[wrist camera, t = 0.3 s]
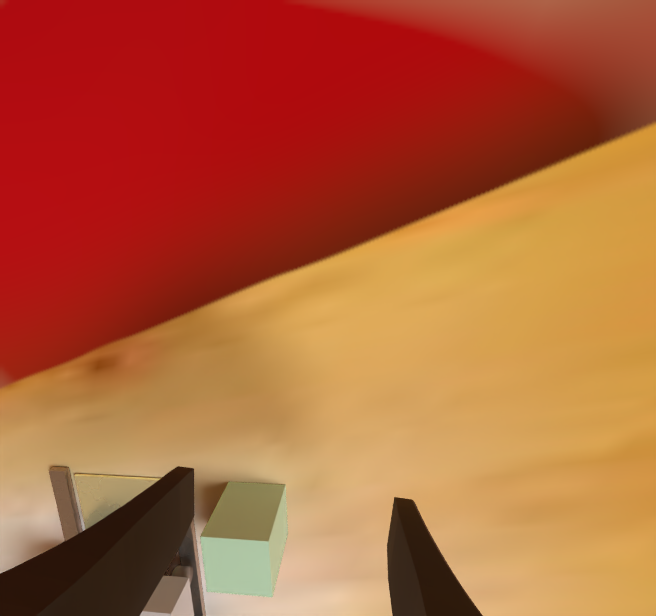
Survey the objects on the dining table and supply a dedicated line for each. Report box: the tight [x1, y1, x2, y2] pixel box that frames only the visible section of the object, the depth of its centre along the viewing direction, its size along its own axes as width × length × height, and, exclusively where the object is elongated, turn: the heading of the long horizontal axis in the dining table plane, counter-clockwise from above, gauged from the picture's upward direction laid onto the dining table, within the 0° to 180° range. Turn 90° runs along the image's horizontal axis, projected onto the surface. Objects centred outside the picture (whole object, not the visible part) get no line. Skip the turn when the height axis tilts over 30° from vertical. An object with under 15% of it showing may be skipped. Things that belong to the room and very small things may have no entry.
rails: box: [49, 467, 206, 616], centre depth 27 cm, size 15×10×1 cm
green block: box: [200, 482, 288, 597], centre depth 23 cm, size 4×4×4 cm
